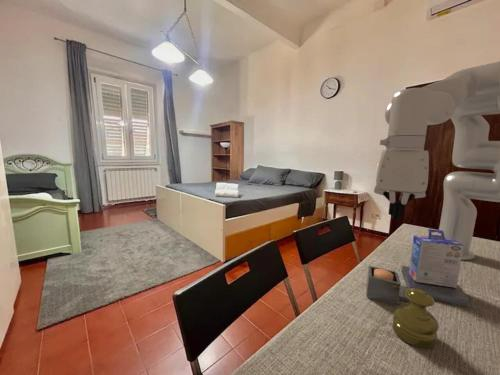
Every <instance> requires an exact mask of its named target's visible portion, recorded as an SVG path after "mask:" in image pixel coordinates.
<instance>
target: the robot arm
mask: <svg viewBox="0 0 500 375" xmlns="http://www.w3.org/2000/svg"><path fill="white" fill-rule="evenodd" d="M384 111H385V112H384V119H385V122H386V123H387V124H388V131H387V137H386V138H384V139H379V140H380V141H379V146H384V147H385V149H382V151H381V154H380V159H379V163H378V166H377V171H376V177H375V178H376V179H375V183H376V184H375V187H374V188H373V193H375V194H377V195H380V196H384V198H385V199H387V201H389V203H388V204H389V205H388V215H390V218H391V220H397V221H400V219H401V217H404V212H405V205H406V204H407V203H408V202H411V201H412V200H413V199H421V198H426V196H427V194H426V191H427V188H428V184H429V172H430V171H429V167H430V162H429V161H430V156H429V150H425V143H426V136H427V130H428V126H432V125H433V126H434V125H439V124H443V123H446V122H447V121H448V120H451V122H452V123H453V127H454V139H453V147H452V155H451V156H452V157H451V159H452V160H451V162H452V165H453V166H455V167H456V168H457V167H458V168H463V169H477V170H491V171H493V172H494V173H489V172H476V171H463V170H462V171H453V172H449V173H448V174H446V175H445V177H444V180H443V203H442V209H441V214H440V215H441V216H440V222H439V226H438V230H443V232H444V237H445V238H450V239H454V240H456V241H457V242H459V243H461V244H462V245H463V246H464V247H463V252H462V258H461V261H462V260H463V261H470V260H471V261H472V260H474V259H475V258H476V257H475V254H474V252H471V251H470V250H471V246H472V239H473V236H474V229H475V226H476V219H477V216H478V211H477V208H476V206H475V204H474V202H473V201H472V200H479V201H486V202H487V201H488V202H494V203H495V202H496V203H500V140H489V133H490V129H491V128H490V124H489V122H488V121H487V120H486V119H485V118H484V117H483V116H488V115H499V114H500V61H496V62H491V63H486V64H482V65H477V66H472V67H469V68H468V67H467V68H465V69H461V70H458V71H457V70H456V71H455V72H453V73H451V74H450V75H448V76H447V77H445V78H443V79H441V80H439V81H438V80H437V81H436V82H432V83H430V84H427V85H424V86H422V87H411V88H406V89H401V90H399V91H397V92H395V93H394V95H393V96H392V99H391V101H390V102H389V104H388V105H387V106H386V109H385V110H384ZM396 193H400V197H399V199H397V200H398V201H397V200H396ZM437 235H439V236H441V234H440V233H438V232H437Z"/></svg>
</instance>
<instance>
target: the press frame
mask: <svg viewBox="0 0 500 375" xmlns="http://www.w3.org/2000/svg"><path fill="white" fill-rule="evenodd" d="M375 269H384V270H387V271H389V272H391V273H392V274H393V275H394V277H393V281H390V280H386V279H382V278H378V277H373V276H374V270H375ZM409 270H410V266H407V265H402V266H401V275H402V277H403V281H404V282H405V285H401V280H400V277H399V274H398V272H397V271H395V270H390V269H387V268H386V269H385V268H382V267H376V266H373V265H369V266H368V270H367V278H366V285H365V287H366V288H365V289H366V297H367V299H369V300H373V301H377V302H380V303H384V304H388V305H390V306H394V307H396V306H397V305H399V301H400V302H405V303H409V302H410V301H409V299H408V298H407V297H406V296H405V295H404V291H405V290H406V289H408V288H415V289H421V290H423V291H424V292H426V293H428V294H429V295H430V296H432V297H433V298H434V300H435V301H436V302H437V301H438V302H442V303H445V304H450V305H454V306H458V307H461V308H466V309H468V308H469V304H470V300H469V298H468V297H467V295H466V294H465V293H464V291H462V289H461V287H460V286H459V285H458V284H457V287H456V288H454V287H447V286H441V285H434V284H427V283H420V282H415V281H414V279H413V278H412V277H411V276H410V274H409Z"/></svg>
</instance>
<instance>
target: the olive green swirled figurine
mask: <svg viewBox="0 0 500 375" xmlns="http://www.w3.org/2000/svg"><path fill="white" fill-rule="evenodd" d="M404 295H405V296H406V297H407V298H408V299H409V301H410V302H405V303H400V304H399V303H398V305H397V306H394V308H393V311H394V312H393V313H394V315H393V317H392V329H393V332H394V333H395V334H396V336H397V337H399V339H401V340H402V341H404V342H405V343H407V344H409V345H411V346H413V347H416V348H418V349H423V350H429V349H433V348H435V346H436V343H437V342H436V341H437V338H438V331H439V328H440V324H439V322H438V320H437V319H436V318H435V317H434V315H433V314H431V312H430V311H429V310H428V309H427V307H432V306H434V305H435V301H436V300H434V298H433V297H432V296H430V295H429V294H428V293H426V292H424V291H423V290H421V289H415V288H408V289H406V290H405V291H404Z"/></svg>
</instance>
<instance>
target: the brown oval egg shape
mask: <svg viewBox="0 0 500 375" xmlns="http://www.w3.org/2000/svg"><path fill="white" fill-rule="evenodd" d="M384 269H385V268H382V269H375V270H374V276H373V277H378V278H382V279H386V280H390V281H393V277H394V275H393V274H392V273H391V272H389V271H387V270H388V269H386V270H384Z"/></svg>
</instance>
